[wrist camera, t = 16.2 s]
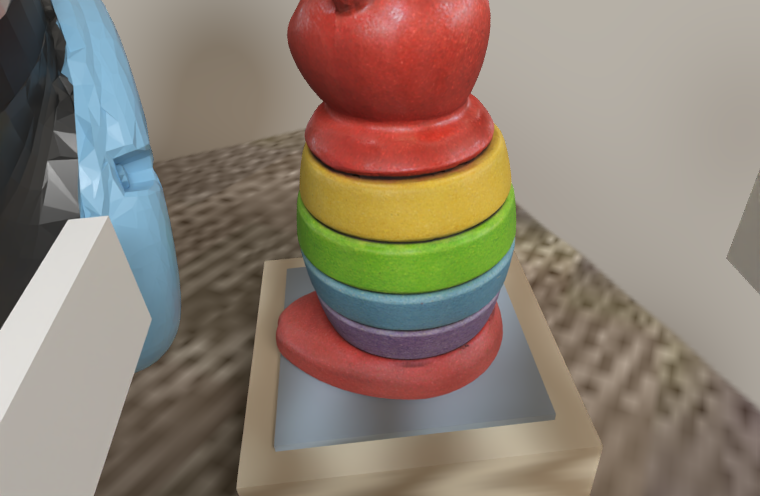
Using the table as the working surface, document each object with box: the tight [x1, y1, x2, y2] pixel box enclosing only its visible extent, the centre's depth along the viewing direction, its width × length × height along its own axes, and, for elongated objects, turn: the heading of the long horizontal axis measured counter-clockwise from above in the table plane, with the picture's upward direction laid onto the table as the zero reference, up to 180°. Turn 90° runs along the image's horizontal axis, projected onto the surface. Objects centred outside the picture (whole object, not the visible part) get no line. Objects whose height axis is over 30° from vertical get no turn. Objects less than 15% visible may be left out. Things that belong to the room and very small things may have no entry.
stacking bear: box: [276, 0, 516, 400], centre depth 24 cm, size 11×10×18 cm
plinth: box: [236, 251, 603, 496], centre depth 31 cm, size 15×15×4 cm
